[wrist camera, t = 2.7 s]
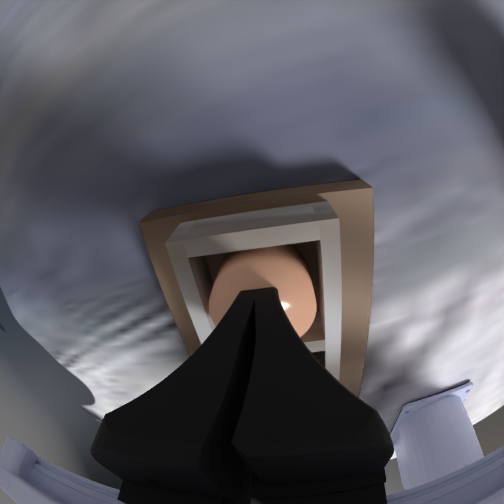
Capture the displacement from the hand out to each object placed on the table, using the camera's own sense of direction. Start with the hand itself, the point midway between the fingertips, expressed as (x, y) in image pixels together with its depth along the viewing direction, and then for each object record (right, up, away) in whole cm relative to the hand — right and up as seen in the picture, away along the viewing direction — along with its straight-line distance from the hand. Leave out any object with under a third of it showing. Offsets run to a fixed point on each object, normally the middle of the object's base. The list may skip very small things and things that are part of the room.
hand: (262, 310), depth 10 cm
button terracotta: (0, +1, +2) cm, 2 cm away
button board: (+1, -3, +6) cm, 7 cm away
